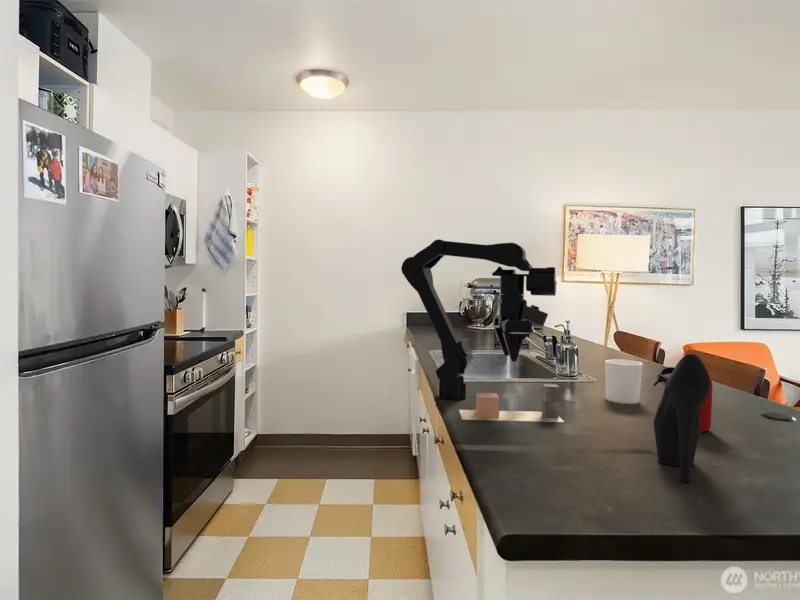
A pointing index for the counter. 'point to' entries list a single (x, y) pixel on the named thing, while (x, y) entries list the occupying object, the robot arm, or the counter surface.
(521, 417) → the strip
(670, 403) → the high-heeled shoe
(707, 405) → the beverage can
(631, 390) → the mug
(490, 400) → the block
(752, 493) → the counter surface
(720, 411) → the counter surface
